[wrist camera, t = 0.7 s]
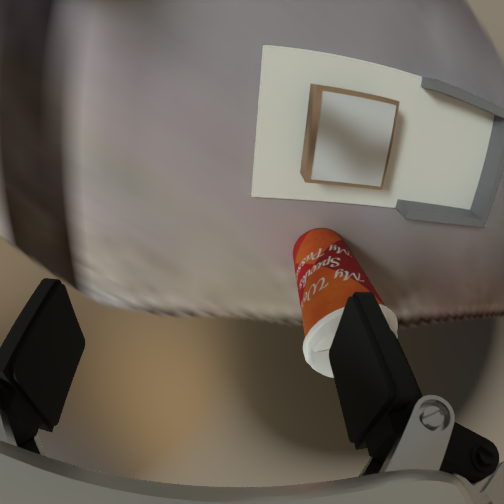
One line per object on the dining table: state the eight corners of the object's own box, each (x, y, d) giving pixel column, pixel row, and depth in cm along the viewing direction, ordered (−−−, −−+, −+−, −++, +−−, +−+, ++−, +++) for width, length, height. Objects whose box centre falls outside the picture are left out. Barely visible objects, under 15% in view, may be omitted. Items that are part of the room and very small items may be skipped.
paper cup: (328, 204, 30) (381, 297, 19) (363, 253, 34) (414, 348, 22) (267, 248, 33) (283, 356, 21) (307, 290, 36) (334, 392, 24)
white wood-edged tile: (308, 83, 23) (318, 85, 20) (382, 96, 24) (401, 101, 21) (297, 169, 28) (306, 183, 25) (367, 176, 28) (383, 191, 25)
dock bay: (262, 45, 22) (266, 42, 19) (498, 108, 24) (515, 114, 21) (251, 194, 30) (252, 208, 27) (470, 215, 32) (483, 227, 29)
